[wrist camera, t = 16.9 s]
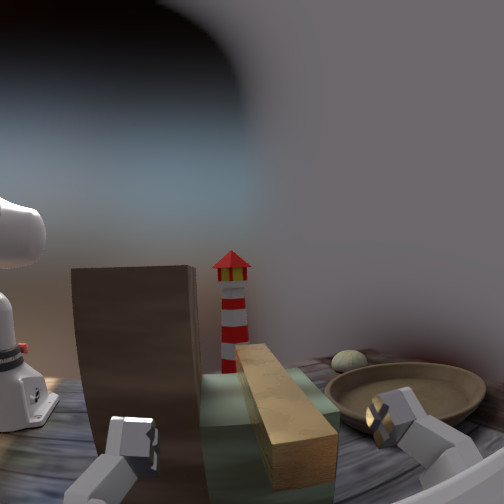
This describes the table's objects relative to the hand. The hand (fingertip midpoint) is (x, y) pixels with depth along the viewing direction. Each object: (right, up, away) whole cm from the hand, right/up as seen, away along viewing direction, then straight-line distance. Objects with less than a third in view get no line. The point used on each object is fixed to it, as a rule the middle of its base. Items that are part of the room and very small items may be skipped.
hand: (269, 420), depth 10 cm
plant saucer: (+28, -23, +39) cm, 53 cm away
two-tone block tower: (-3, -22, +14) cm, 26 cm away
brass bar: (+1, -6, +12) cm, 13 cm away
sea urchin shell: (+24, -24, +66) cm, 74 cm away
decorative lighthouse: (-3, -24, +40) cm, 47 cm away
